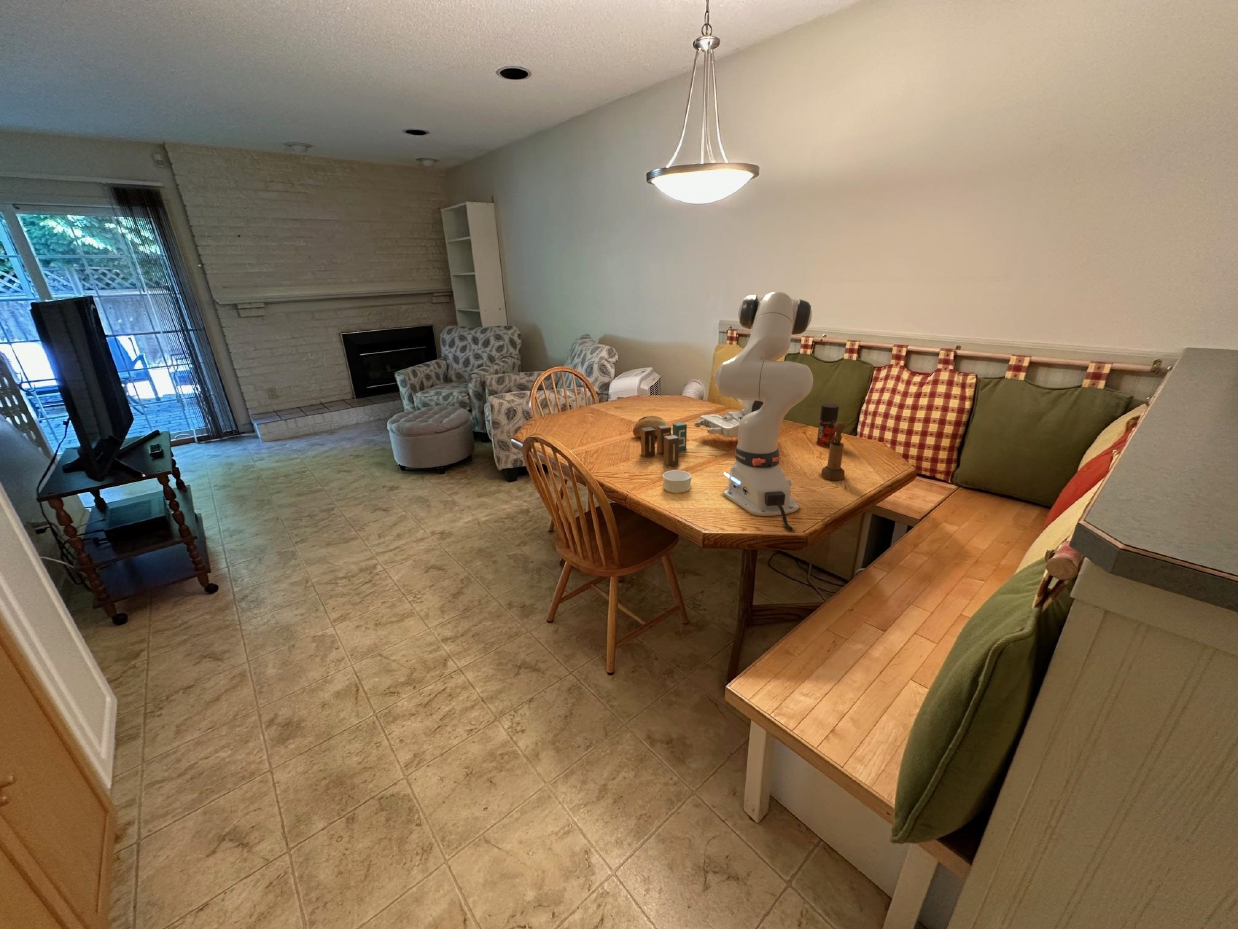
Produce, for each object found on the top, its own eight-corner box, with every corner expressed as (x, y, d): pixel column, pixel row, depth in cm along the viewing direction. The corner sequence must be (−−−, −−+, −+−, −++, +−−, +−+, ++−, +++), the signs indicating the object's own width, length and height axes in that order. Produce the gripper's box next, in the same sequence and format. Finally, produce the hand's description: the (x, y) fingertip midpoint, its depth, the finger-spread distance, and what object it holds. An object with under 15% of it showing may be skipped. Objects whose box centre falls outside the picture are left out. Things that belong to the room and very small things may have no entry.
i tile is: (673, 461, 168) (674, 434, 164) (678, 465, 165) (679, 437, 161) (663, 463, 167) (663, 436, 163) (668, 467, 163) (668, 439, 160)
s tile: (681, 447, 182) (682, 422, 178) (686, 450, 179) (687, 424, 175) (672, 448, 180) (672, 423, 177) (677, 451, 177) (677, 426, 174)
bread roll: (631, 433, 199) (630, 415, 196) (666, 431, 201) (666, 412, 198) (634, 440, 190) (634, 421, 188) (671, 438, 192) (671, 419, 189)
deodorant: (813, 444, 180) (818, 405, 175) (821, 440, 184) (826, 402, 178) (828, 447, 176) (834, 408, 171) (836, 444, 180) (842, 405, 174)
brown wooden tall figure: (836, 472, 155) (843, 418, 148) (848, 479, 149) (856, 424, 142) (817, 473, 154) (824, 420, 147) (828, 481, 148) (836, 426, 141)
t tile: (666, 450, 179) (666, 424, 176) (671, 453, 176) (671, 427, 173) (657, 451, 178) (656, 426, 174) (661, 454, 175) (661, 428, 171)
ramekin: (656, 488, 148) (656, 475, 146) (676, 480, 153) (676, 467, 151) (677, 496, 141) (677, 483, 140) (697, 488, 147) (697, 475, 145)
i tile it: (650, 452, 177) (650, 426, 174) (655, 455, 174) (655, 429, 170) (641, 454, 176) (640, 428, 172) (645, 457, 173) (644, 431, 169)
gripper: (718, 409, 192) (688, 413, 188) (749, 421, 175) (716, 426, 170) (717, 424, 195) (687, 428, 190) (748, 438, 177) (715, 443, 172)
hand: (701, 428), depth 180 cm, fingers open, 8 cm apart
